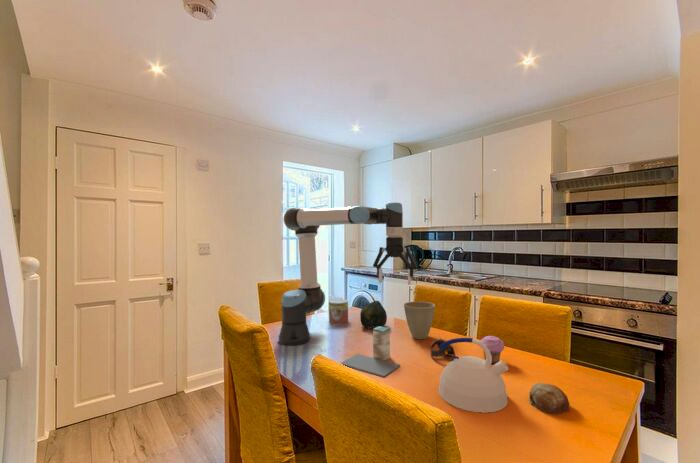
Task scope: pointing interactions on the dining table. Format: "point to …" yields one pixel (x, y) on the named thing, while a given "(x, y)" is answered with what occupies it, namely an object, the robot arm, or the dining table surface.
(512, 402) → the dining table surface
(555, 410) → the brown rounded lump
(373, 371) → the mat
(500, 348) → the cupcake
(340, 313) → the canned food
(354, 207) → the robot arm
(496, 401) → the kettle
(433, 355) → the vr controller
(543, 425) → the dining table surface
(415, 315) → the plant pot
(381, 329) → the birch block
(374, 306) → the squash
